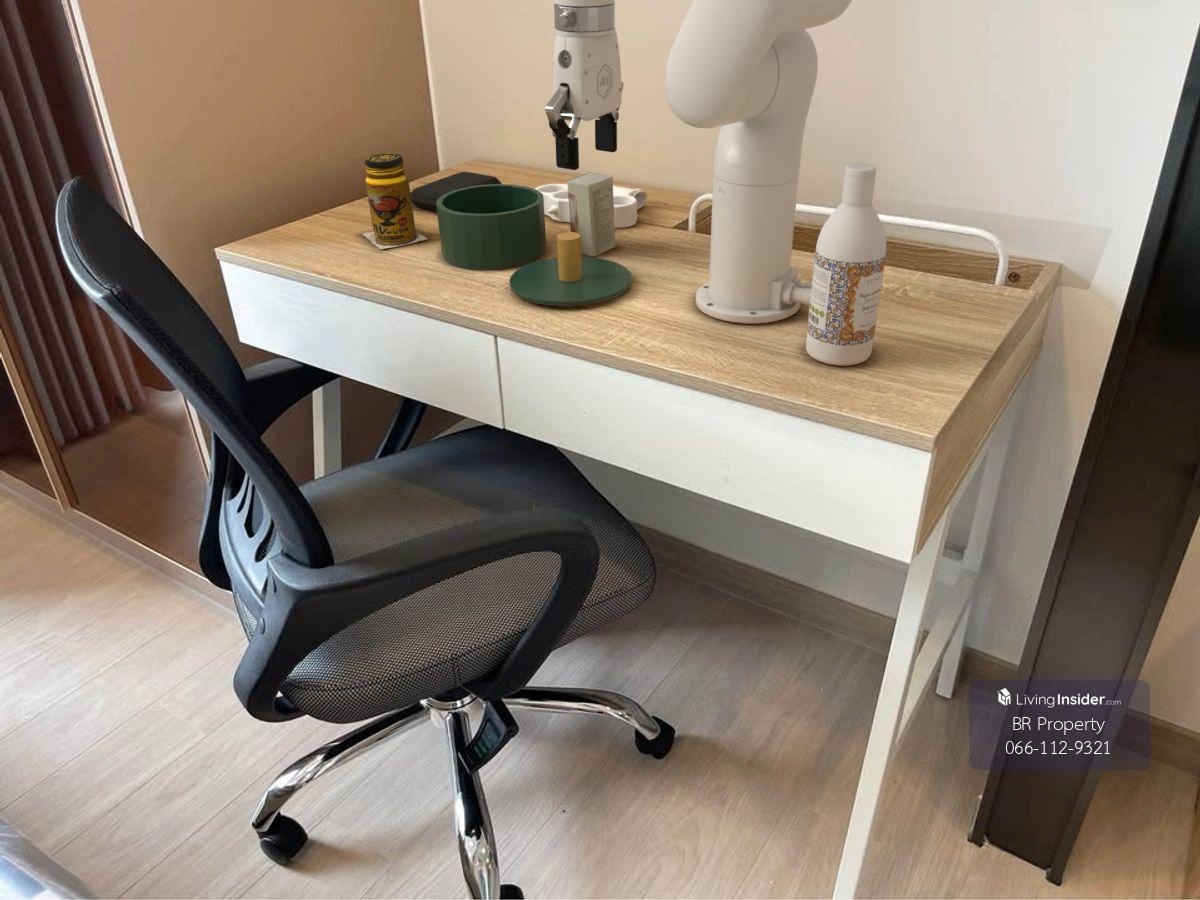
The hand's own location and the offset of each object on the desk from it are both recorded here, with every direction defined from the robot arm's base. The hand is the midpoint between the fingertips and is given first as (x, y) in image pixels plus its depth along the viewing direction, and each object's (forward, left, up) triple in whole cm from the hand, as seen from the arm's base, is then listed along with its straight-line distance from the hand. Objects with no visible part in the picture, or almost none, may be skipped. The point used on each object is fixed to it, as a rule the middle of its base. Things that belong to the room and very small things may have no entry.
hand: (587, 159), depth 122 cm
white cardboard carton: (0, 0, -13) cm, 13 cm away
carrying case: (+33, -10, -13) cm, 36 cm away
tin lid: (-5, +13, -12) cm, 19 cm away
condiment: (+29, +9, -13) cm, 33 cm away
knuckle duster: (+9, -14, -13) cm, 21 cm away
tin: (+12, +7, -13) cm, 18 cm away
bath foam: (-41, +16, -13) cm, 46 cm away
